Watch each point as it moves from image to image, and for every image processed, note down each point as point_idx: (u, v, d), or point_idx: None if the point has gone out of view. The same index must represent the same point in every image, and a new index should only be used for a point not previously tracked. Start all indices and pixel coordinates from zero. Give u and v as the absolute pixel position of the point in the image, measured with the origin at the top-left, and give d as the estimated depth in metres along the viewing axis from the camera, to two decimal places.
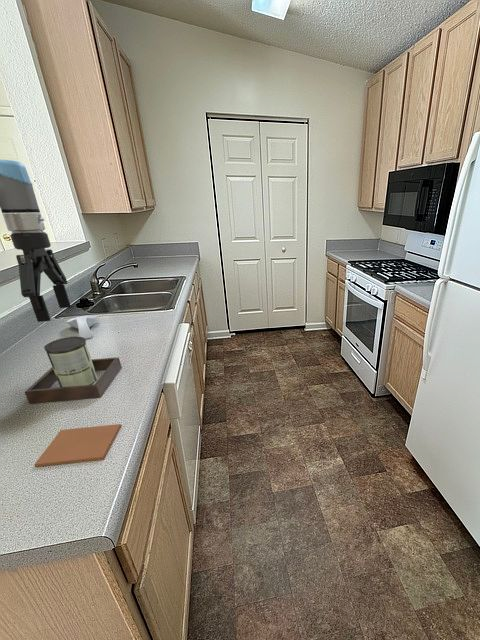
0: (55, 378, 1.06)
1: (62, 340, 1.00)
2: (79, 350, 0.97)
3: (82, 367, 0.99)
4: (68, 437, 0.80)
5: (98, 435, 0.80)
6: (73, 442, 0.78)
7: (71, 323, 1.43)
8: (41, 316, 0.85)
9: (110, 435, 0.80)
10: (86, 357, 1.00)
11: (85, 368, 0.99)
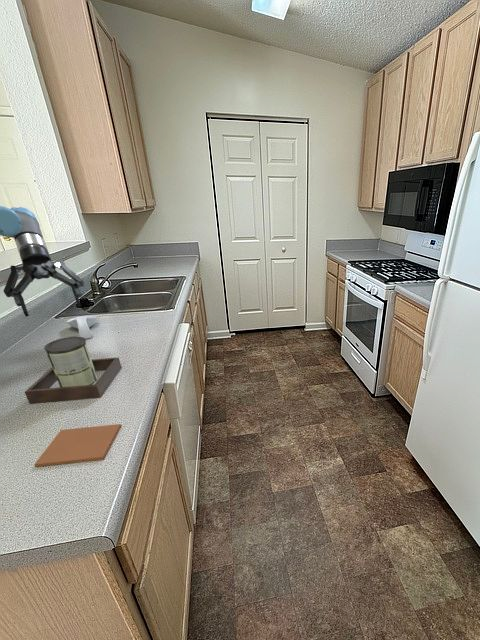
0: (55, 378, 1.06)
1: (62, 340, 1.00)
2: (79, 350, 0.97)
3: (82, 367, 0.99)
4: (68, 437, 0.80)
5: (98, 435, 0.80)
6: (73, 442, 0.78)
7: (71, 323, 1.43)
8: None
9: (110, 435, 0.80)
10: (86, 357, 1.00)
11: (85, 368, 0.99)
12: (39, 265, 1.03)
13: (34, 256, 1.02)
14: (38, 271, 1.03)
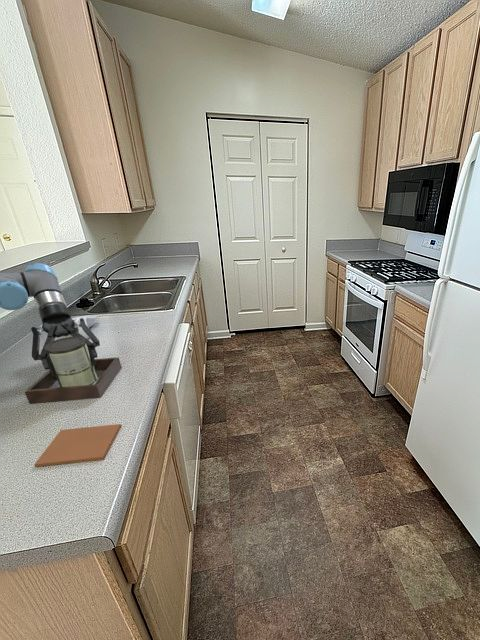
0: None
1: (62, 340, 1.00)
2: (79, 350, 0.97)
3: (82, 367, 0.99)
4: (68, 437, 0.80)
5: (98, 435, 0.80)
6: (73, 442, 0.78)
7: None
8: (95, 362, 1.03)
9: (110, 435, 0.80)
10: (86, 357, 1.00)
11: (85, 368, 0.99)
12: (59, 323, 1.02)
13: (54, 315, 1.00)
14: (58, 330, 1.01)
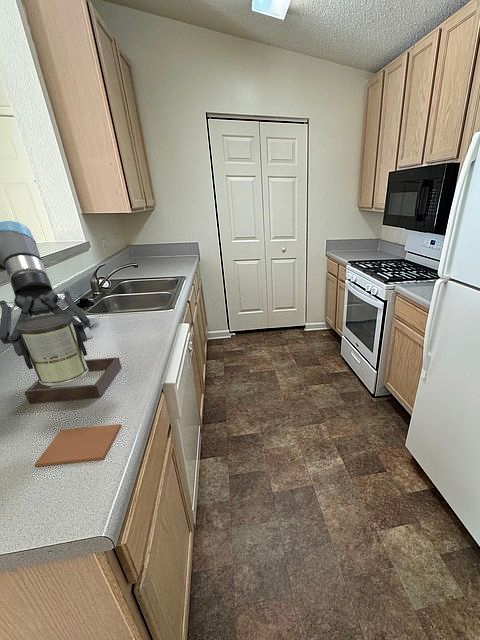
0: None
1: (41, 318, 0.77)
2: (63, 331, 0.74)
3: (67, 352, 0.76)
4: (68, 437, 0.80)
5: (98, 435, 0.80)
6: (73, 442, 0.78)
7: None
8: None
9: (110, 435, 0.80)
10: (72, 340, 0.77)
11: (70, 355, 0.77)
12: (37, 297, 0.79)
13: (30, 286, 0.77)
14: (35, 305, 0.78)
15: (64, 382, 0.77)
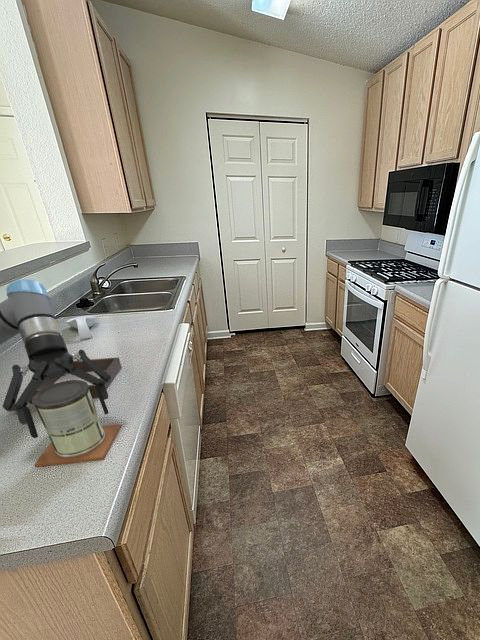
0: (55, 378, 1.06)
1: (57, 386, 0.74)
2: (80, 402, 0.71)
3: (84, 423, 0.73)
4: None
5: None
6: None
7: (71, 323, 1.43)
8: None
9: (110, 435, 0.80)
10: (89, 409, 0.74)
11: (87, 425, 0.73)
12: (52, 360, 0.75)
13: (45, 350, 0.74)
14: (50, 370, 0.75)
15: (81, 453, 0.74)
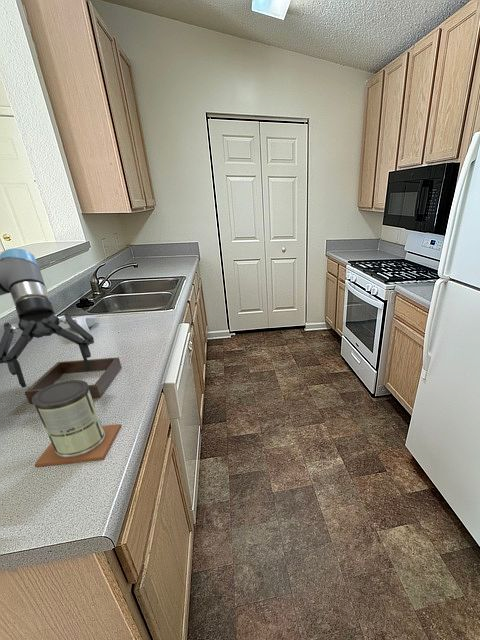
0: (55, 378, 1.06)
1: (57, 386, 0.74)
2: (80, 402, 0.71)
3: (84, 423, 0.73)
4: None
5: None
6: None
7: None
8: None
9: (110, 435, 0.80)
10: (89, 409, 0.74)
11: (87, 425, 0.73)
12: (40, 320, 0.84)
13: (33, 311, 0.83)
14: (38, 329, 0.83)
15: (81, 453, 0.74)
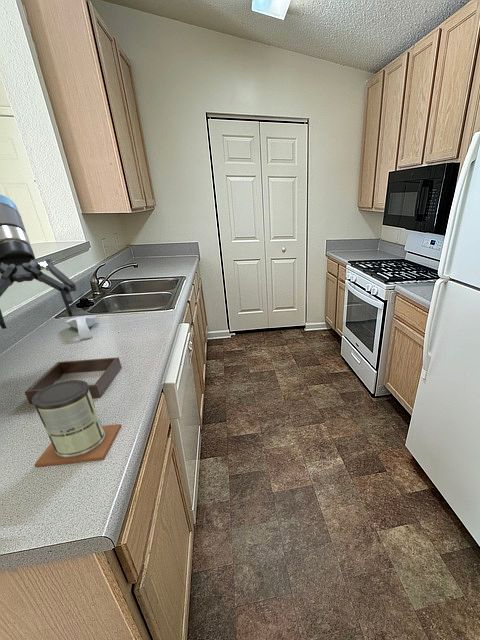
0: (55, 378, 1.06)
1: (57, 386, 0.74)
2: (80, 402, 0.71)
3: (84, 423, 0.73)
4: None
5: None
6: None
7: (70, 323, 1.43)
8: None
9: (110, 435, 0.80)
10: (89, 409, 0.74)
11: (87, 425, 0.73)
12: (20, 265, 0.84)
13: (13, 254, 0.82)
14: (18, 272, 0.83)
15: (81, 453, 0.74)
